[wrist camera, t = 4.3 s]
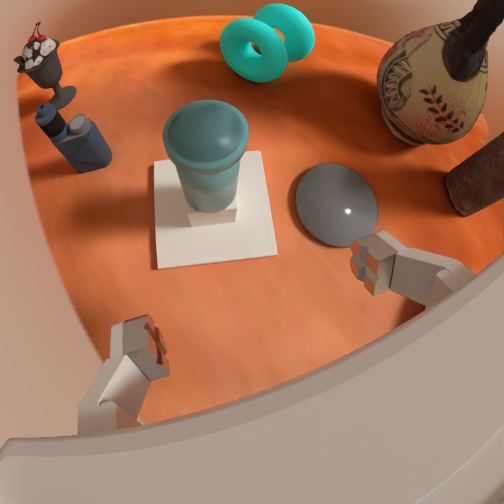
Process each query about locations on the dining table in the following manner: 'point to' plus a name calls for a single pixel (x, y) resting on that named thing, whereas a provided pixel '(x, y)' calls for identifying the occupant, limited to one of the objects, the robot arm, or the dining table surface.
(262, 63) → the donuts
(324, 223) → the dish
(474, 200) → the brown tall cylinder
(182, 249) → the white cube on base
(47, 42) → the sundae
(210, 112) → the teal domed cylinder
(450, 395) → the robot arm
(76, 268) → the dining table surface
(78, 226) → the dining table surface
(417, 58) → the ceramic jug
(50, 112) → the vaping device
